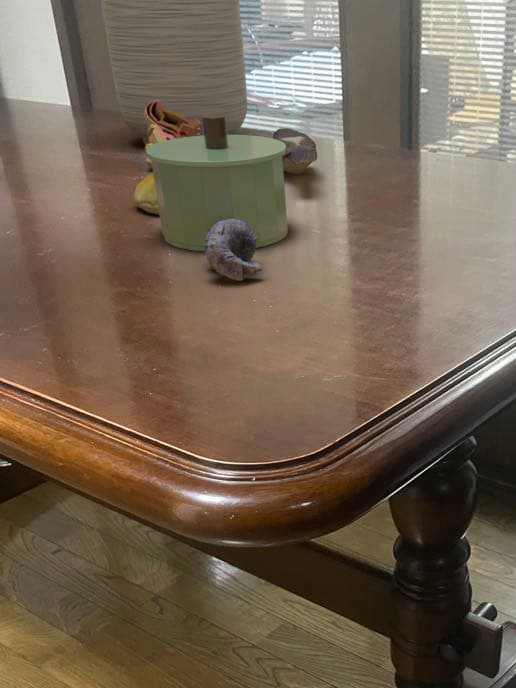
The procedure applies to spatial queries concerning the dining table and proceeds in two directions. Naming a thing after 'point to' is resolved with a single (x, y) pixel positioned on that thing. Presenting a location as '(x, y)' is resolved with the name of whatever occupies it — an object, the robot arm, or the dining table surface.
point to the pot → (220, 201)
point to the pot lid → (216, 147)
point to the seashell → (232, 249)
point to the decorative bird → (296, 150)
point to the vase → (177, 59)
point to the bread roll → (147, 195)
